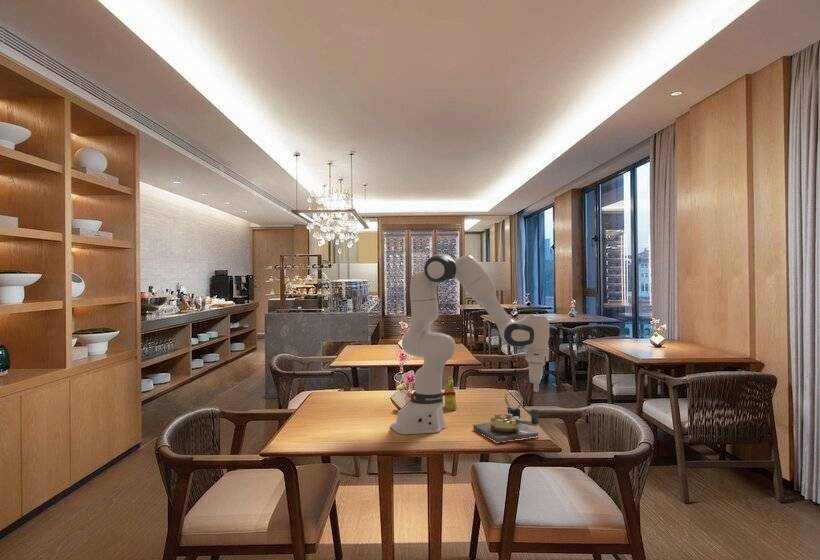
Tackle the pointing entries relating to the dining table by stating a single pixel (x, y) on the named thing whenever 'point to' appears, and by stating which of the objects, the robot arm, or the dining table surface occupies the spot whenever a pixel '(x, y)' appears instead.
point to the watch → (514, 410)
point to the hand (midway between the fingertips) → (536, 391)
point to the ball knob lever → (512, 421)
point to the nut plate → (504, 436)
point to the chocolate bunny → (450, 395)
